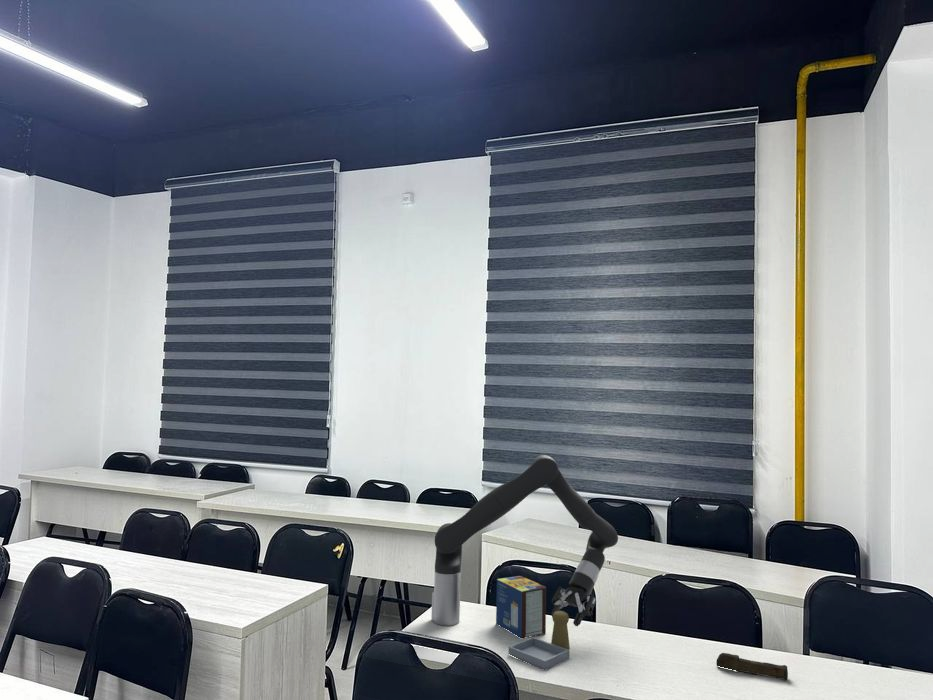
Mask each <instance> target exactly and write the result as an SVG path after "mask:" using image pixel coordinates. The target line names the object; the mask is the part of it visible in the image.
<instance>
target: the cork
mask: <svg viewBox="0 0 933 700" xmlns="http://www.w3.org/2000/svg"><path fill="white" fill-rule="evenodd" d="M551 618H552V622H553V628H552V634H551V642H550V643H551V644H554V645H557V646H559V647H562V648H565V649H568V650H569V651H570V650H571V646H570V638H569V630H568V623H569V620H570V617H569V613H567V611H566V612H565V611H564V610H560V611H556V612H554V613H553V616H552V615H551Z"/></svg>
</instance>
